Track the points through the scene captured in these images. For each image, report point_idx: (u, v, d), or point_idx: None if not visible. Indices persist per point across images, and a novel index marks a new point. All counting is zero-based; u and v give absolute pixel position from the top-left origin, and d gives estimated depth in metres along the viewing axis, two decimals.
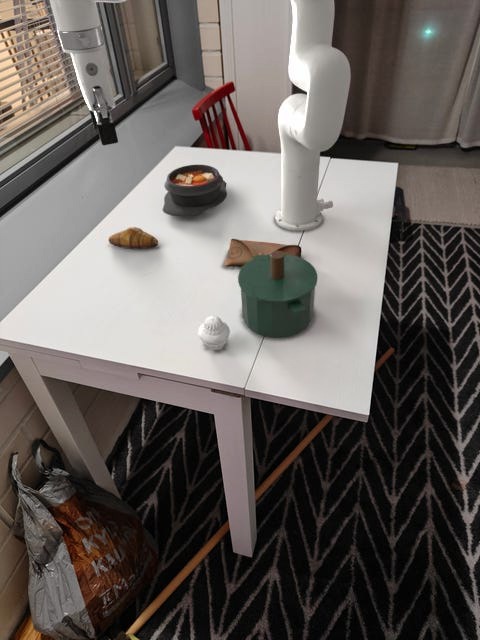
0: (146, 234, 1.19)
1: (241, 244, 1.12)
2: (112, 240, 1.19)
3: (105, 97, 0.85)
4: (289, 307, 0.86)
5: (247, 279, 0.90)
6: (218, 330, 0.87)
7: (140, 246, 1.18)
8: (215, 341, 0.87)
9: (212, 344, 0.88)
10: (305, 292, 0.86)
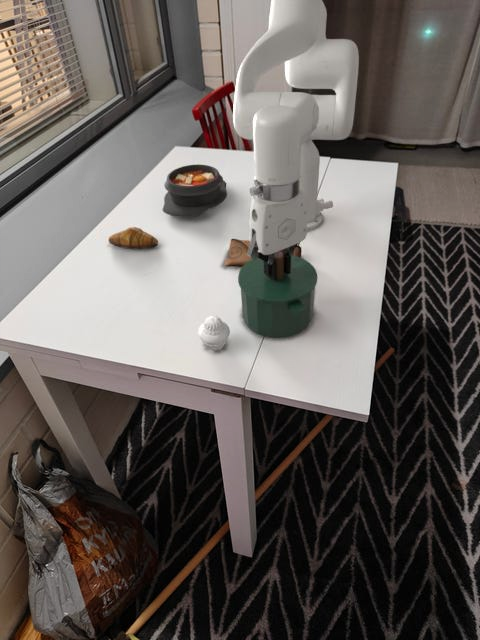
0: (146, 234, 1.19)
1: (241, 244, 1.12)
2: (112, 240, 1.19)
3: None
4: (289, 307, 0.86)
5: (247, 279, 0.90)
6: (218, 330, 0.87)
7: (140, 246, 1.18)
8: (215, 341, 0.87)
9: (212, 344, 0.88)
10: (305, 292, 0.86)
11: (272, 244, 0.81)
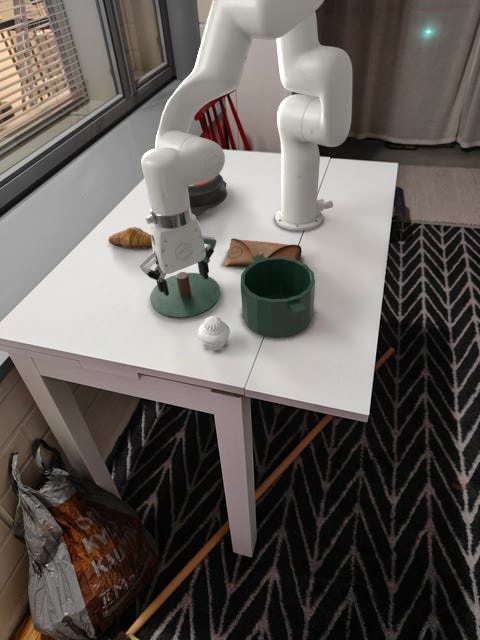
0: (146, 234, 1.19)
1: (241, 244, 1.12)
2: (112, 240, 1.19)
3: (158, 263, 0.93)
4: (289, 307, 0.86)
5: (158, 297, 1.02)
6: (218, 330, 0.87)
7: (140, 246, 1.18)
8: (215, 341, 0.87)
9: (212, 344, 0.88)
10: (205, 309, 0.98)
11: (171, 264, 0.93)
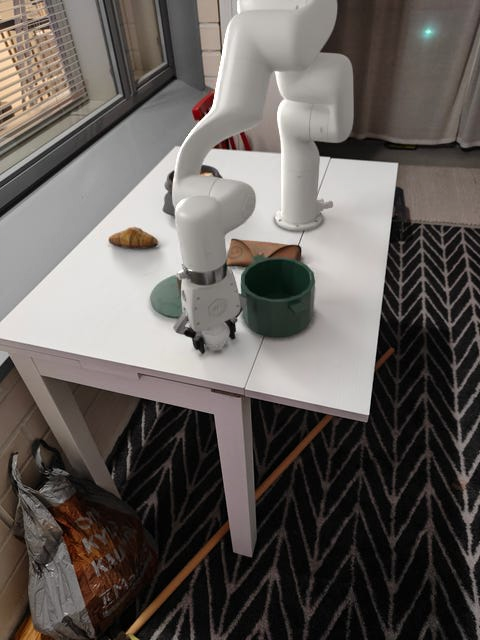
0: (146, 234, 1.19)
1: (241, 244, 1.12)
2: (112, 240, 1.19)
3: None
4: (289, 307, 0.86)
5: (158, 297, 1.02)
6: (218, 330, 0.87)
7: (140, 246, 1.18)
8: (215, 341, 0.87)
9: (212, 344, 0.88)
10: None
11: (203, 322, 0.82)
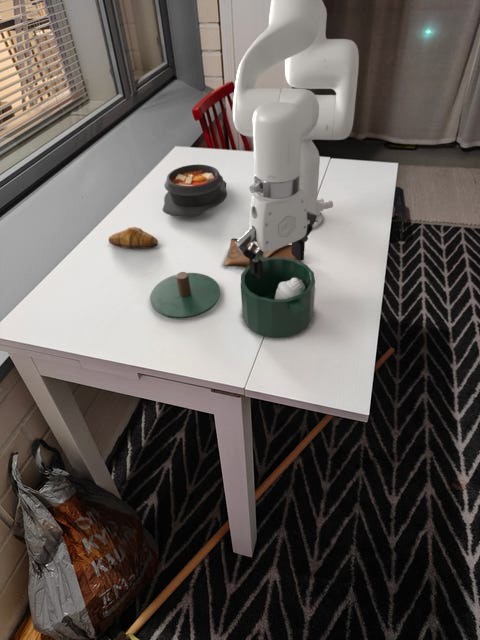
0: (146, 234, 1.19)
1: None
2: (112, 240, 1.20)
3: (257, 240, 0.81)
4: (289, 307, 0.86)
5: (158, 297, 1.02)
6: (301, 291, 0.94)
7: (140, 246, 1.18)
8: None
9: None
10: (205, 309, 0.98)
11: (272, 241, 0.81)
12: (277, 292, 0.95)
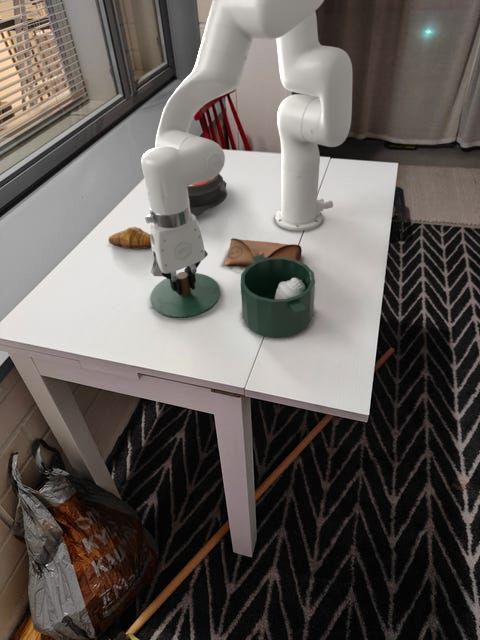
0: (146, 234, 1.19)
1: (241, 244, 1.12)
2: (112, 240, 1.20)
3: None
4: (289, 307, 0.86)
5: (158, 297, 1.02)
6: (301, 291, 0.94)
7: (140, 246, 1.18)
8: None
9: None
10: (205, 308, 0.98)
11: (170, 264, 0.93)
12: (277, 292, 0.95)
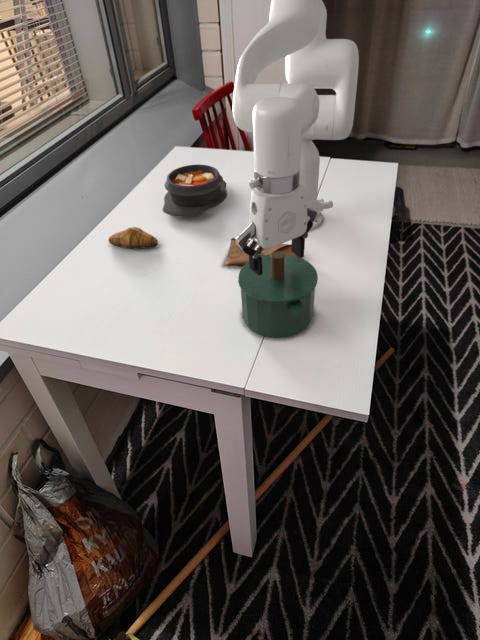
0: (146, 234, 1.19)
1: None
2: (112, 240, 1.20)
3: (257, 236, 0.81)
4: (289, 307, 0.86)
5: (247, 280, 0.90)
6: None
7: (140, 246, 1.18)
8: None
9: None
10: (305, 292, 0.86)
11: (272, 238, 0.80)
12: None
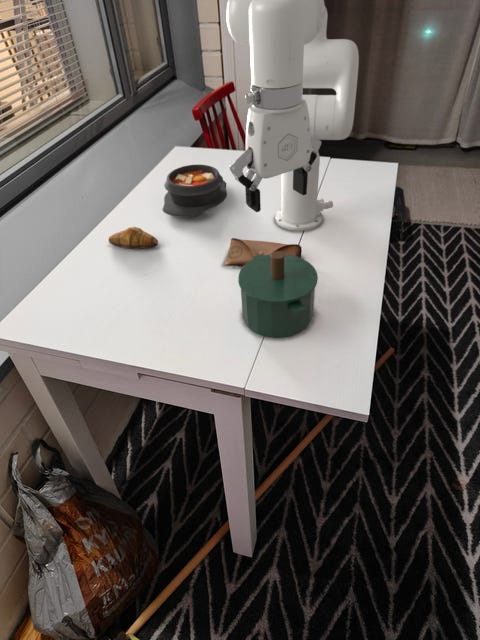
0: (146, 234, 1.19)
1: (241, 243, 1.12)
2: (112, 240, 1.20)
3: (254, 163, 0.72)
4: (289, 307, 0.86)
5: (247, 280, 0.90)
6: None
7: (140, 246, 1.18)
8: None
9: None
10: (305, 292, 0.86)
11: (271, 165, 0.72)
12: None
